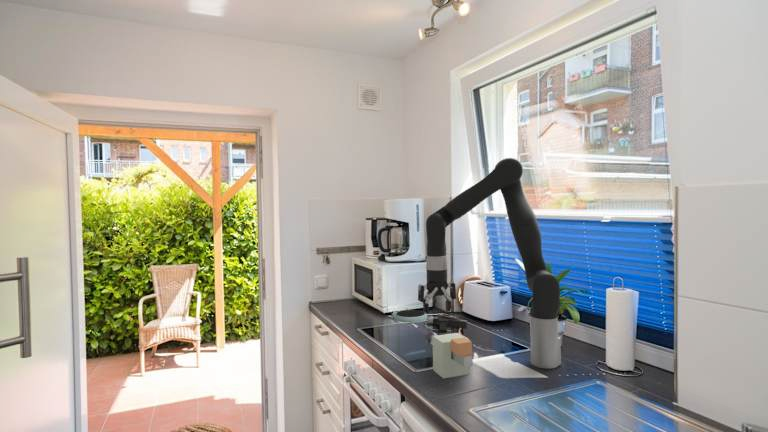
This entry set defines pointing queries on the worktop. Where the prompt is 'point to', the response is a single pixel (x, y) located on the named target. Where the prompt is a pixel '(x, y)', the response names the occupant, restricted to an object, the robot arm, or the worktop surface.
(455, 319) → the toy gun
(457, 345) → the block
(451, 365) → the block
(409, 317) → the pale green frying pan
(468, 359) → the shaft
